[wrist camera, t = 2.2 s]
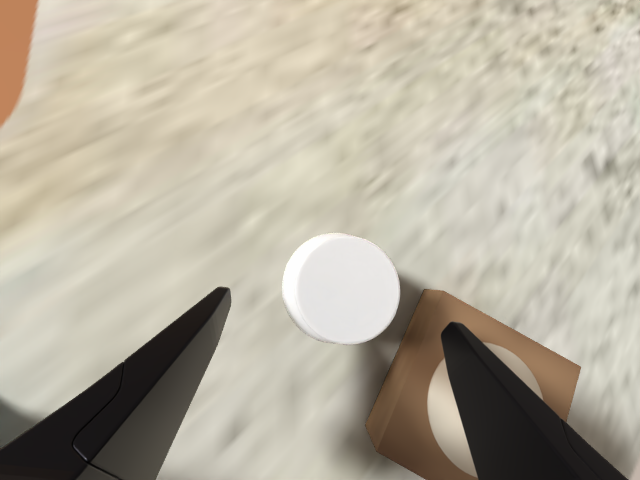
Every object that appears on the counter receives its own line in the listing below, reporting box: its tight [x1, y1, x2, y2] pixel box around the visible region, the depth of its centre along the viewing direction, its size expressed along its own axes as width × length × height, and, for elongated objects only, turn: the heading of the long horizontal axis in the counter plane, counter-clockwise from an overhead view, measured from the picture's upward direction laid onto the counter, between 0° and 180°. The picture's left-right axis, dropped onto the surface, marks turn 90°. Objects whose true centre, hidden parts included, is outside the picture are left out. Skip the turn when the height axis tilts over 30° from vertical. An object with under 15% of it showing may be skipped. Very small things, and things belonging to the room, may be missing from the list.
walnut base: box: [365, 289, 581, 480], centre depth 16 cm, size 11×11×3 cm
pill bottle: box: [282, 233, 400, 345], centre depth 13 cm, size 5×5×10 cm
